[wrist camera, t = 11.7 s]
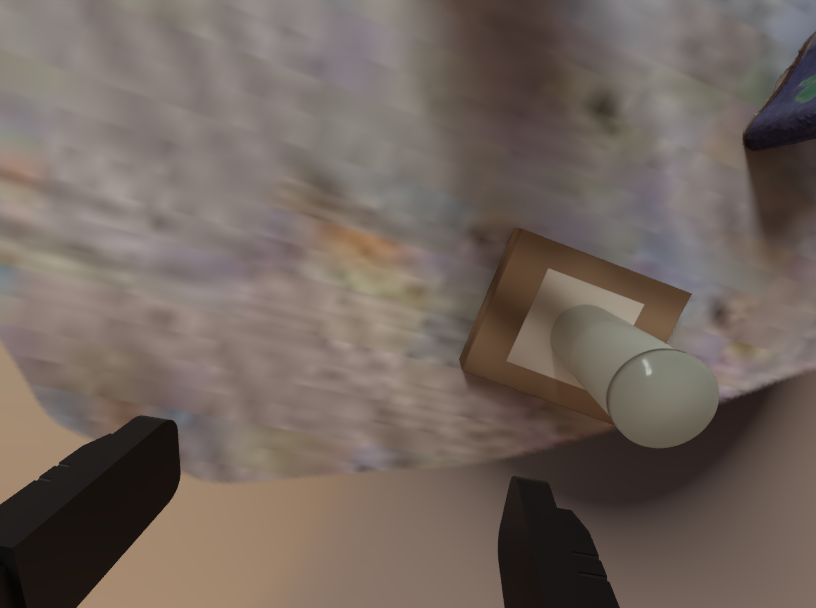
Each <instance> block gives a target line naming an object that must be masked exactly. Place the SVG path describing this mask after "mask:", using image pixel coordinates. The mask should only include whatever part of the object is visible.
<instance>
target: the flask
mask: <svg viewBox="0 0 816 608" xmlns="http://www.w3.org/2000/svg"><path fill="white" fill-rule="evenodd" d="M799 51H801V52H800V53H799V55H798V57H797V58H796V59H795V61H794V62H793V64H792V65H790V67H789V68H787V69H786V70H785V72H784V74H783V75H781V76H780V79H779V80H778V82H777V84H776V88H775V91H774V92H775V93H774V94H773V95H772V96H771V97H770V98H766V101H765V104H764V107H763V108H762V110H761V111H759V112H758V113H757V114H756V113H755V116H754V118H753V119H752V120H751V121H750V122H749V124H748V125H747V126H746V127H745V129H744V131H743V132H744V133H743V144H742V145H745V146H746V147H748V148H749V149H750V150H752V151H761V150H765V149H769V148H775V147H779V146H784V145H789V144H795V143H798V142H803V141H807V140H811V139H816V32H815V33H814V34H813V35H812V36H810V37H809V38H808V39H807V41H806V42H805V43H804V44H803V45H802V46H801V48H800V49H799Z"/></svg>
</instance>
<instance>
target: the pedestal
mask: <svg viewBox="0 0 816 608" xmlns="http://www.w3.org/2000/svg"><path fill="white" fill-rule="evenodd" d="M691 295H692V294H691V293H688V292H686V291H683V290H681V289H678V288H675V287H673V286H670V285H668V284H665V283H662V282H660V281H657V280H654V279H652V278H649V277H647V276H644V275H641V274H639V273H636V272H633V271H631V270H628V269H626V268H623V267H620V266H618V265H615V264H613V263H610V262H607V261H605V260H602V259H599V258H597V257H594V256H592V255H589V254H586V253H584V252H581V251H578V250H576V249H573V248H571V247H568V246H565V245H563V244H560V243H558V242H555V241H552V240H550V239H547V238H544V237H542V236H539V235H537V234H534V233H531V232H529V231H526V230H523V229H519V228H515V229H514V231H513V233H512V236H511V238H510V240H509V243H508V245H507V248H506V250H505V252H504V255H503V257H502V259H501V262H500V264H499V266H498V269H497V271H496V274H495V276H494V278H493V281H492V283H491V285H490V288H489V290H488V292H487V295H486V297H485V300H484V302H483V304H482V307H481V309H480V311H479V314H478V316H477V318H476V321H475V323H474V326H473V328H472V330H471V333H470V335H469V337H468V340H467V342H466V344H465V347H464V349H463V352H462V354H461V356H460V359H459V360H460V364H461V368H462V370H463V371H466V372H469V373H472V374H474V375H477V376H480V377H483V378H485V379H488V380H491V381H494V382H497V383H499V384H502V385H505V386H508V387H510V388H513V389H516V390H519V391H521V392H524V393H527V394H530V395H533V396H535V397H538V398H541V399H544V400H546V401H549V402H552V403H555V404H558V405H560V406H563V407H566V408H569V409H571V410H574V411H577V412H580V413H583V414H585V415H588V416H591V417H594V418H596V419H599V420H602V421H605V422H608V423H610V424H613V425H614V423H613V422H612V420H611V418H610V416H609V415H608V414H607V413H606V412H605V411H604V409H603V408H602V407H601V406H600V405H599V404H598V403H597V402H596V400H595V399H594V398H593V397H592V396H591V395H590V394H589V393H588V391H587V390H586V389H585V388H584V387H583V386H582V385H581V384H580V382H579V381H578V380H577V379H576V378H575V377H574V376H573V375H572V373H571V372H570V371H569V370H568V369H567V368H566V367H565V366H564V364H563V363H562V362H561V361H560V360H559V359H558V358H557V357H556V355H555V354H554V352H553V350H552V347H551V343H550V334H551V330H552V327H553V325H554V323H555V321H556V320H557V319H558V317H559V316H560V315H561V314H562V313H564V312H565V311H567V310H568V309H570V308H572V307H575V306H578V305H585V304H588V305H595V306H599V307H601V308H603V309H605V310H607V311H608V312H610V313H612V314H614V315H616V316H617V317H619V318H621V319H623V320H625V321H626V322H628V323H630V324H632V325H634V326H635V327H637V328H639V329H641V330H643V331H644V332H646V333H648V334H650V335H652V336H653V337H655V338H657V339H659V340H661V341H662V342H664V343H665V342H666V341H667V339H668V337H669V335H670V333H671V331H672V329H673V328H674V326H675V324H676V322H677V320H678V318H679V317H680V315H681V313H682V311H683V309H684V307H685V306H686V304H687V302H688V300H689V298H690V296H691Z"/></svg>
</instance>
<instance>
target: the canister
mask: <svg viewBox="0 0 816 608" xmlns="http://www.w3.org/2000/svg"><path fill="white" fill-rule="evenodd" d="M550 343H551V347H552V350H553V352H554V354H555V355H556V357H557V358H558V359H559V360H560V361H561V362H562V363H563V364H564V366H565V367H566V368H567V369H568V370H569V371H570V372H571V373H572V375H573V376H574V377H575V378H576V379H577V380H578V381H579V382H580V384H581V385H582V386H583V387H584V388H585V389H586V390H587V391H588V393H589V394H590V395H591V396H592V397H593V398H594V399H595V400H596V402H597V403H598V404H599V405H600V406H601V407H602V408H603V409H604V411H605V412H606V413H607V414H608V415H609V416H610V418H611V420H612V422H613V423H614V425H615V426H616V427H617V428H618V429H619V430H620V431H621V433H622V434H623V435H625V436H626V437H627V438H628V439H629V440H631V441H633V442H635V443H637V444H639V445H642V446H646V447H651V448H667V447H672V446H676V445H679V444H682V443H684V442H687V441H688V440H690V439H692V438H694V437H695V436H697V435H698V434H699V433H700V432H701V431H703V430H704V428H705V427H706V426H707V425H708V424H709V422H710V421H711V420H712V418H713V416H714V414H715V412H716V409H717V406H718V402H719V388H718V383H717V380H716V378H715V376H714V374H713V373H712V371H711V370H710V369H709V367H708V366H707V365H705V364H704V363H703V362H702V361H700V360H699V359H697V358H695V357H693V356H692V355H690V354H688V353H686V352H683V351H680V350H677V349H675V348H673V347H671V346H670V345H668V344H666V343H664V342H662V341H661V340H659V339H657V338H655V337H653V336H652V335H650V334H648V333H646V332H644V331H643V330H641V329H639V328H637V327H635V326H634V325H632V324H630V323H628V322H626V321H625V320H623V319H621V318H619V317H617V316H616V315H614V314H612V313H610V312H608V311H607V310H605V309H603V308H601V307H599V306H595V305H588V304H585V305H578V306H575V307H572V308H570V309H568V310H567V311H565V312H564V313H562V314H561V315H560V316H559V317H558V319H557V320H556V321H555V323H554V325H553V327H552V330H551V334H550Z"/></svg>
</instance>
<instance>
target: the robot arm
mask: <svg viewBox="0 0 816 608" xmlns="http://www.w3.org/2000/svg"><path fill="white" fill-rule="evenodd" d="M179 481H180V457H179V443H178V429H177V425H176V423H175V422H174V421H173V420H168V419H161V418H155V417H149V416H142V415H141V416H137V417H135V418H134V419H132V420H131V421H130V422H128V423H127V424H126V425H124V426H123V427H121V428H120V429H119V430H117V431H116V432H115V433H113V434H108V435H106V436H103V437H101V438H99V439H97V440H94V441H92V442H90V443H88V444H86V445H83V446H82V447H80V448H79V449H78V450H76V451H75V452H73V453H72V454H70V455H69V456H68V457H66V458H65V459H64V460H62V461H61V462H59V465H58V466H54V467H52V468H51V469H49V470H48V471H47V472H45V473H44V474H42V475H41V476H40V477H39V479H38V480H37V481H35V480H34V481H33V482H31V483H30V484H28V485H27V486H26V487H24V488H23V489H21V490H20V491H19V492H17V493H16V494H14V495H13V496H12V497H10V498H9V499H8V500H6V501H5V502H3V503H2V504H0V608H77V606H78V605H79V604H80V603H81V602H82V601H83V600H84V598H85V597H86V596H87V595H88V594H89V593H90V592H91V590H92V589H93V588H94V587H95V586H96V585H97V584H98V583H99V581H100V580H101V579H102V578H103V577H104V575H106V573H107V572H108V571H109V570H110V569H111V568H112V567H113V565H114V564H115V563H116V562H117V561H118V559H119V558H120V557H121V556H122V555H123V554H124V553H125V552H126V551H127V550H128V548H129V547H130V546H131V545H132V544H133V543H134V541H135V540H136V539H137V538H138V537H139V536H140V535H141V534H142V532H143V531H144V530H145V529H146V528H147V527H148V526H149V524H150V523H151V522H152V521H153V520H154V519H155V518H156V517H157V515H158V514H159V513H160V512H161V511H162V510H163V508H164V507H165V506H166V505H167V504H168V503H169V502H170V500H171V499H172V497H173V496H174V494H175V492H176V490H177V487H178V484H179ZM498 561H499V568H500V575H501V583H502V591H503V598H504V606H505V608H620V607H619V605H618V602H617V600H616V598H615V595H614V592H613V590H612V587H611V585H610V583H609V582H608V581H607V575H606V572H605V570H604V568H603V565H602V562H601V561H600V560H599V555H598V553H597V550H596V548H595V545H594V543H593V540H592V538H591V535H590V533H589V531H588V530H587V529H586V527H585V526H584V525H583V524H582V523H581V521H580V520H579V519H578V518H577V517H576V516H575V514H574V513H573V512H572V511H571V510H566V509H560V508H557V506H556V503H555V501H554V497H553V495H552V491H551V488H550V486H549V484H548V482H547V481H542V480H536V479H530V478H523V477H517V476H513V477H512V478H511V481H510V485H509V489H508V494H507V498H506V502H505V506H504V511H503V516H502V520H501V524H500V529H499V536H498Z"/></svg>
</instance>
